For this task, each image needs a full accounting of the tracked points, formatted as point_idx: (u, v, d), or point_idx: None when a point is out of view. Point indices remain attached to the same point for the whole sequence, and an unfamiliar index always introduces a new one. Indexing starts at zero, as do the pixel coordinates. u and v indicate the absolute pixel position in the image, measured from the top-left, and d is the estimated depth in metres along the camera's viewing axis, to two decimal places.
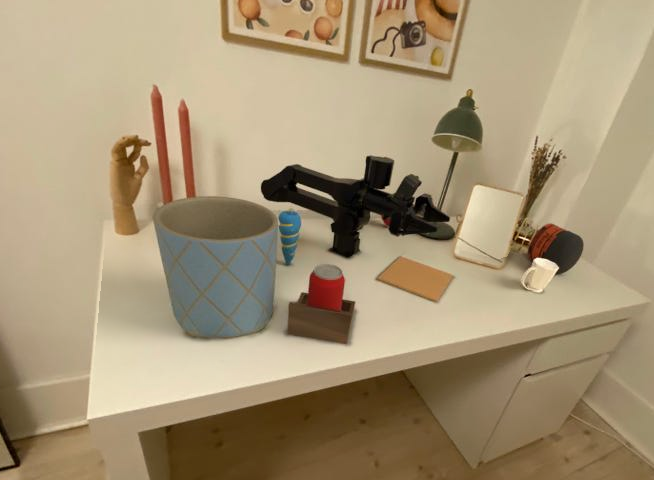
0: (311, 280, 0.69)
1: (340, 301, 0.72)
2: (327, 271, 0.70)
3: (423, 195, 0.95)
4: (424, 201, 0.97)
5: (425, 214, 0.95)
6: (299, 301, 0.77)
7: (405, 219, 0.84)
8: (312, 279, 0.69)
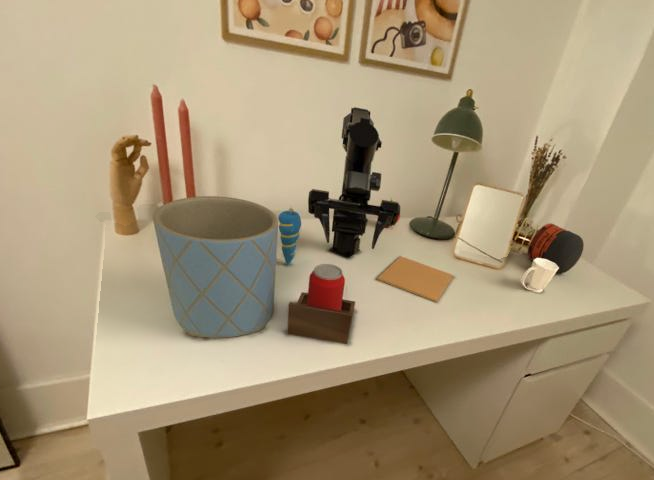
0: (311, 280, 0.69)
1: (339, 301, 0.72)
2: (327, 271, 0.70)
3: (387, 204, 0.77)
4: None
5: (376, 222, 0.80)
6: (299, 301, 0.77)
7: None
8: (312, 279, 0.69)
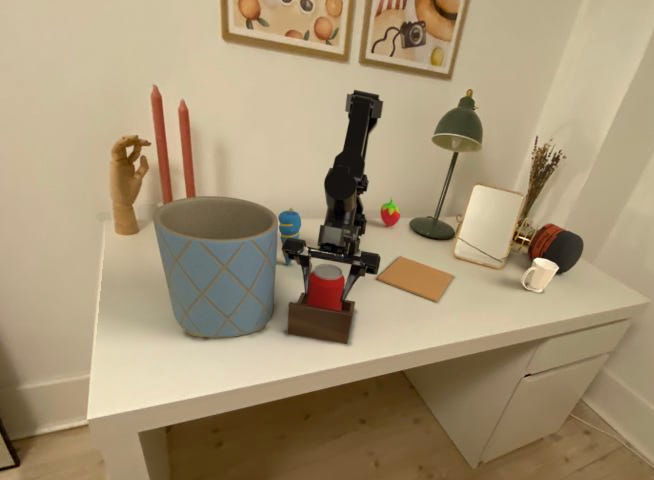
0: (311, 280, 0.69)
1: (340, 301, 0.72)
2: (327, 271, 0.70)
3: (366, 257, 0.71)
4: None
5: None
6: (299, 301, 0.77)
7: None
8: (312, 279, 0.69)
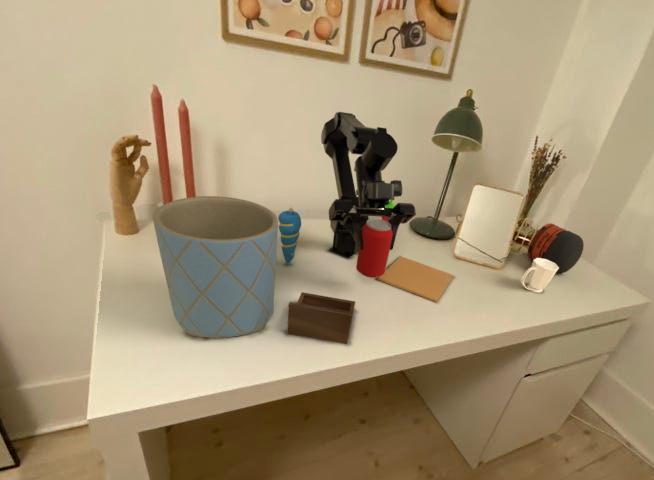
0: (368, 234, 0.78)
1: (389, 249, 0.83)
2: (378, 224, 0.80)
3: (405, 207, 0.83)
4: None
5: (388, 222, 0.85)
6: (299, 301, 0.77)
7: (344, 216, 0.79)
8: (369, 233, 0.78)
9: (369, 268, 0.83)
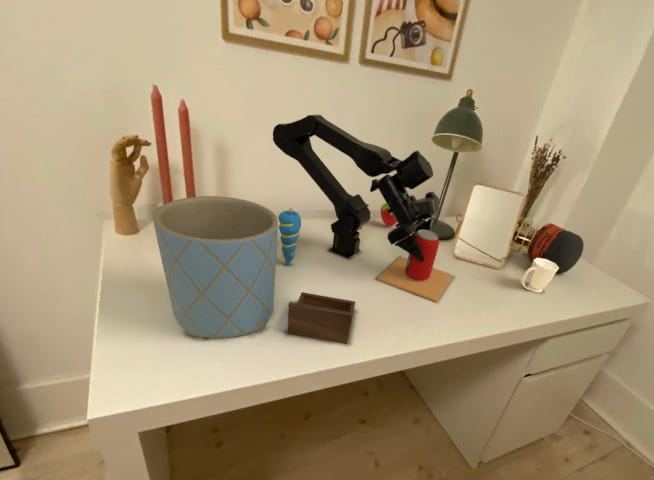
0: (430, 245, 0.91)
1: None
2: (427, 234, 0.93)
3: None
4: None
5: (419, 227, 0.98)
6: (299, 301, 0.77)
7: (407, 238, 0.87)
8: (430, 244, 0.91)
9: (427, 273, 0.96)
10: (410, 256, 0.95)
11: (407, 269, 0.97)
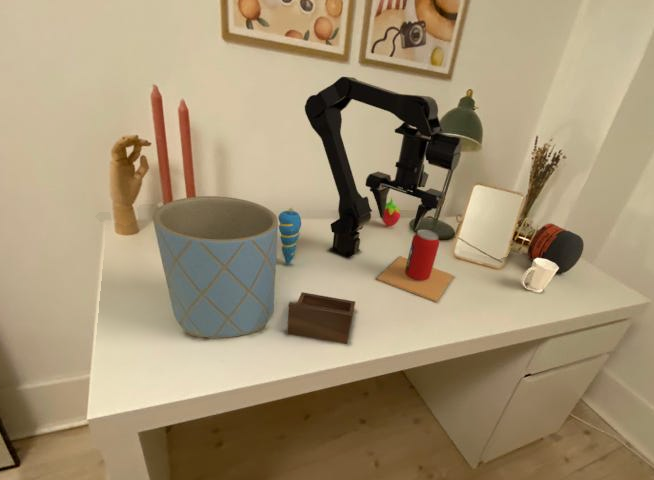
0: (430, 245, 0.91)
1: None
2: (427, 234, 0.93)
3: None
4: None
5: (383, 192, 0.91)
6: (299, 301, 0.77)
7: None
8: (430, 244, 0.91)
9: (427, 273, 0.96)
10: (410, 256, 0.95)
11: (407, 269, 0.97)
